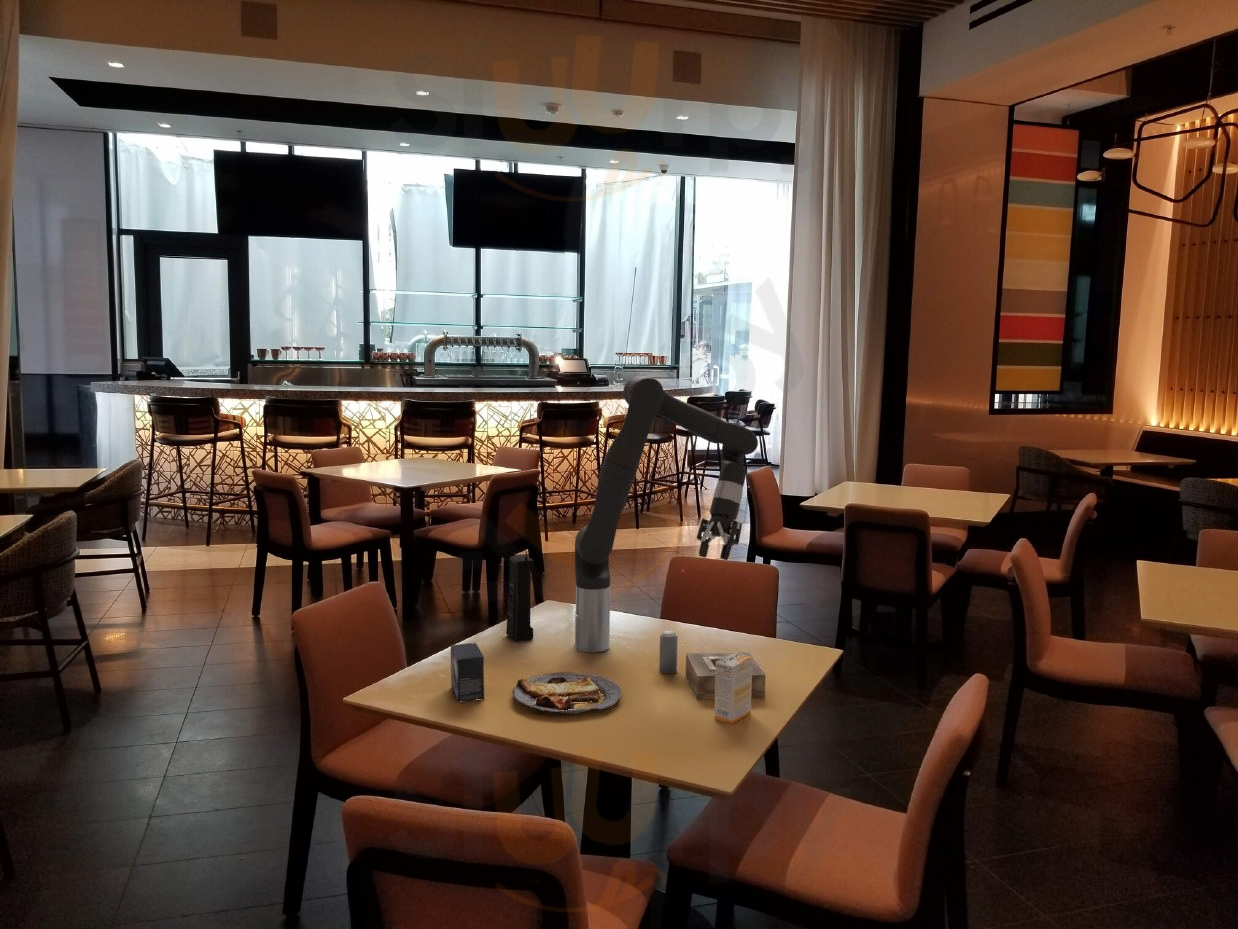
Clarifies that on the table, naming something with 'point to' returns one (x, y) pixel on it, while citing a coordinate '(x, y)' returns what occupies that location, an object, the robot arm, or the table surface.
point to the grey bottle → (668, 652)
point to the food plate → (565, 691)
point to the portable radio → (519, 598)
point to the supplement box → (733, 687)
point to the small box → (467, 672)
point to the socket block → (703, 674)
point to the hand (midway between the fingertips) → (712, 558)
